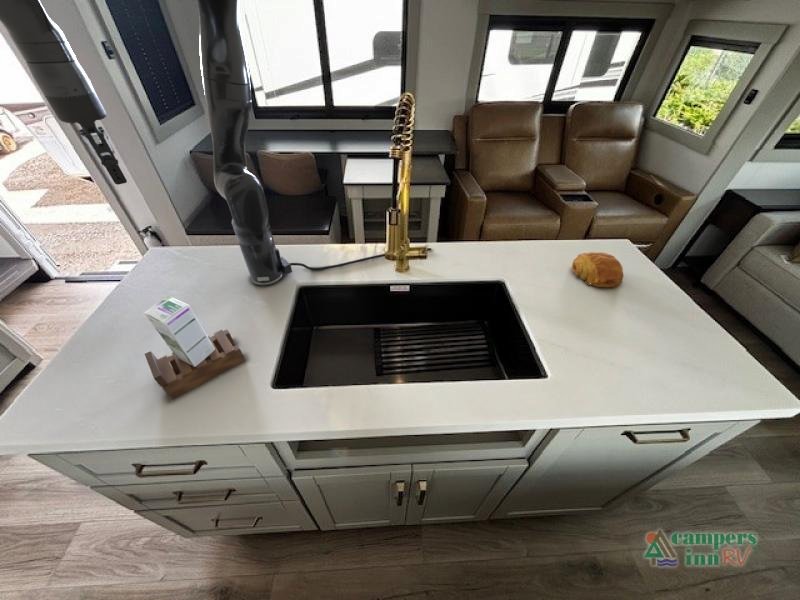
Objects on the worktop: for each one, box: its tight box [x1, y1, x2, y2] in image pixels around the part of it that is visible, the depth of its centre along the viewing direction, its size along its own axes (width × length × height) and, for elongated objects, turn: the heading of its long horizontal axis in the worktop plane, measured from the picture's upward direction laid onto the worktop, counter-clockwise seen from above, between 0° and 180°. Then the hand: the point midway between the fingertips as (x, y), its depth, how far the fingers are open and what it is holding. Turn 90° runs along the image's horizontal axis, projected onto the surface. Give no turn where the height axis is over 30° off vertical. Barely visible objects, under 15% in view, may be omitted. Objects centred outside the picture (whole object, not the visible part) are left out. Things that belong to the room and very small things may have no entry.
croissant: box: [571, 251, 624, 288], centre depth 104 cm, size 14×16×8 cm
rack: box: [144, 328, 246, 400], centre depth 73 cm, size 16×8×8 cm, turn 132°
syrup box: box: [144, 295, 215, 367], centre depth 67 cm, size 6×6×14 cm
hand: (117, 177), depth 71 cm, fingers open, 8 cm apart
